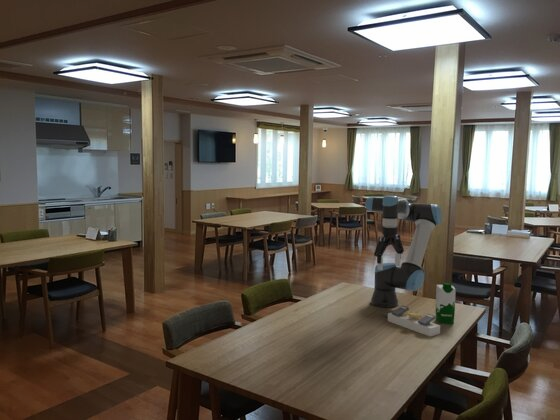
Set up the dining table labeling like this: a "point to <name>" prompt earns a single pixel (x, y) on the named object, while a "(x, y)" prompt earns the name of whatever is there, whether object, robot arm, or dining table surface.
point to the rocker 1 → (400, 310)
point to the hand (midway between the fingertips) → (388, 267)
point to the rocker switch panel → (413, 324)
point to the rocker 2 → (413, 315)
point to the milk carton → (445, 303)
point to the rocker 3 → (426, 319)
